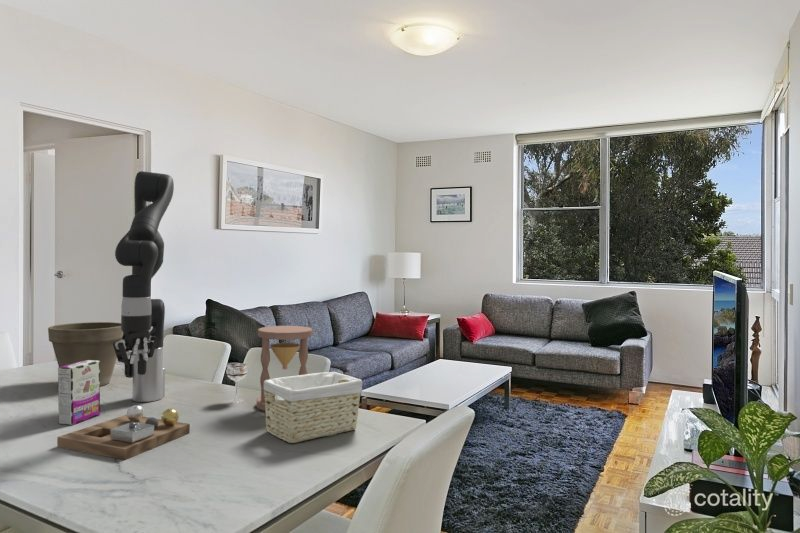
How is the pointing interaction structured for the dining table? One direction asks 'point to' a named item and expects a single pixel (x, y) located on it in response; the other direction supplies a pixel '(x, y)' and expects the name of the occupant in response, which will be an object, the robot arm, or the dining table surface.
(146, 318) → the robot arm
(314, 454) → the dining table surface
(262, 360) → the hourglass
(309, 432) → the storage basket
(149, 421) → the black rubber ball
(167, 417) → the brass ball
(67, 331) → the plant pot
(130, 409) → the steel ball
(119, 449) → the walnut board
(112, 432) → the steel cover
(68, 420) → the candy bar box
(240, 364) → the wineglass
